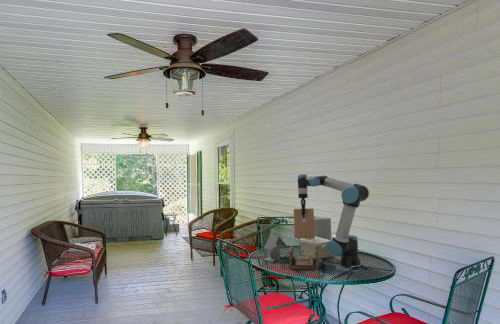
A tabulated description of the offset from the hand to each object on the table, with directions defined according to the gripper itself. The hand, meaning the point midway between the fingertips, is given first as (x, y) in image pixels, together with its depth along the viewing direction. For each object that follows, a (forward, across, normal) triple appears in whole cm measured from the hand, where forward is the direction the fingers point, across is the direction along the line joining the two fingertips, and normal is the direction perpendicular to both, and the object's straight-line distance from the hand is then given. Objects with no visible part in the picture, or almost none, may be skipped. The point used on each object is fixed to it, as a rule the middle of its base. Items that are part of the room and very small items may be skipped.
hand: (304, 221), depth 270 cm
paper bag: (+32, -37, +10) cm, 50 cm away
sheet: (+14, 0, 0) cm, 14 cm away
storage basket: (+32, -11, +8) cm, 35 cm away
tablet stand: (+32, 0, -25) cm, 40 cm away
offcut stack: (+30, +23, 0) cm, 38 cm away
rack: (+32, +19, 0) cm, 37 cm away
